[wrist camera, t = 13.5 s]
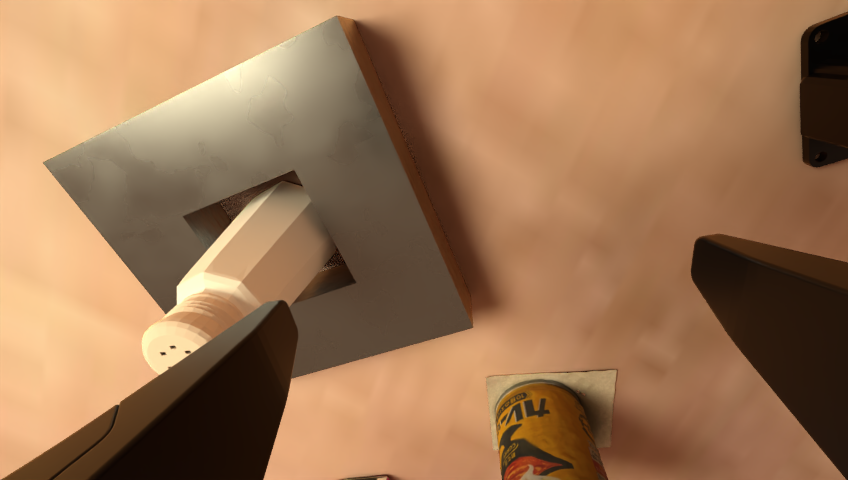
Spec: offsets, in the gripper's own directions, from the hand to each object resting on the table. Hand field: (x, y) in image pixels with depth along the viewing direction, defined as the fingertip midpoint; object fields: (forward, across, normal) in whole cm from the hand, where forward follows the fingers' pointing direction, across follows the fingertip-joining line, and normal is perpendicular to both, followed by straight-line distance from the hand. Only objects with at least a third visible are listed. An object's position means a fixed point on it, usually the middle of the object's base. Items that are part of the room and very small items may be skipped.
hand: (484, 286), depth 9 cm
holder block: (+14, +10, +3) cm, 17 cm away
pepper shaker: (+14, +9, +3) cm, 17 cm away
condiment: (+13, -4, +20) cm, 24 cm away
